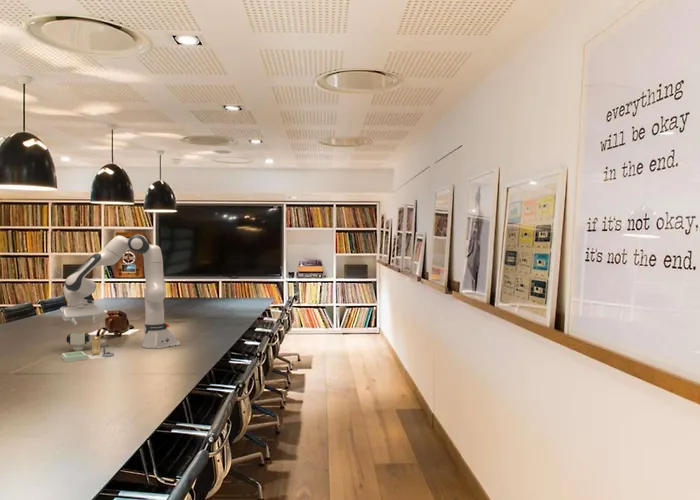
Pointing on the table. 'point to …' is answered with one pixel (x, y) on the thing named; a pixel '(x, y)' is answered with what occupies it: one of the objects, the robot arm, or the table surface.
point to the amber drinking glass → (96, 345)
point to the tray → (74, 356)
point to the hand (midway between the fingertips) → (85, 323)
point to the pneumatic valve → (78, 340)
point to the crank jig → (102, 354)
